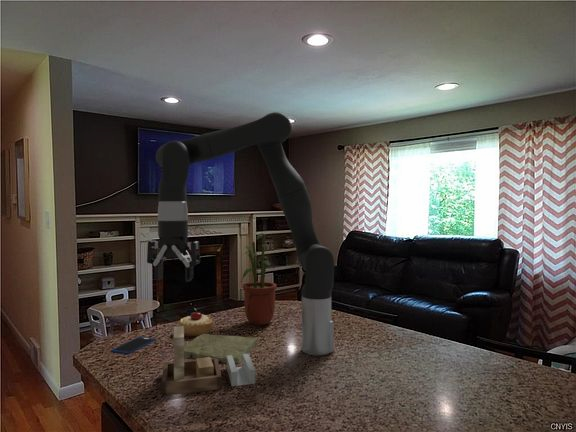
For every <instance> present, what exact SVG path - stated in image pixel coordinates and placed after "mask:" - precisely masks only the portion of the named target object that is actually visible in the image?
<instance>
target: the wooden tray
mask: <svg viewBox="0 0 576 432" xmlns="http://www.w3.org/2000/svg"><path fill="white" fill-rule="evenodd" d="M211 361H212V363H213V366H214V376H207V377H198V378H197V376H196V359H188V360H184V379H181V380H174V361H169V362H163V369H162V374H161V375H162V376H161V377H162V378H161V397H166V396H175V395H182V394H183V395H184V394H189V393H190V394H191V393H200V392H207V391H209V392H210V391H216V390H222V389H223V385H222V381H223V380H222V373H221V369H220V368H221V367H220V364H219V363H220V362H218V359H217V358H211Z"/></svg>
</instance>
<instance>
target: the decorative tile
mask: <svg viewBox="0 0 576 432" xmlns="http://www.w3.org/2000/svg"><path fill="white" fill-rule="evenodd" d="M257 346H258V339H257V338H256V337H246V336H239V335H223V334H210V333H209V334H202V335H200V336H198V337H194V338H193V339H192V340H191V341H189V342H188V344H186V345H184V359H185V358H187V359H189V358H193V359H195V360H196V359H198V358H205V357H210V358H217V359H218V363H220V362H221V364H222V363H225V364H227V356H229V355H232V356H233V359H234V362H235V364H240V363H241V362H243V354H249V353H250V352H251V350H252V349H253V348H254V347H255V348H256V347H257Z"/></svg>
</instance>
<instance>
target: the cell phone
mask: <svg viewBox="0 0 576 432" xmlns="http://www.w3.org/2000/svg"><path fill="white" fill-rule="evenodd" d="M155 341H157V339H156V338H153V337H152V338H151V337H144V336H138V337H136V338H133V339H131V340H129V341H127V342H125V343H123V344H120V345H119V346H117V347H115V348H112V349H111V350H110V353H115V354H121V355H130V354H131V355H132V354H133V353H134V352H137V351H138V350H141V349H142V348H145V347H146V346H148V345H150V344H152V343H154V342H155Z"/></svg>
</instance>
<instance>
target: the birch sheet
mask: <svg viewBox="0 0 576 432" xmlns="http://www.w3.org/2000/svg"><path fill="white" fill-rule="evenodd" d="M173 328H174V330H173V362H174V380H181V379H184V361H185V358H184V346H185V335H184V326H179V325H178V326H174V327H173Z"/></svg>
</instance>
